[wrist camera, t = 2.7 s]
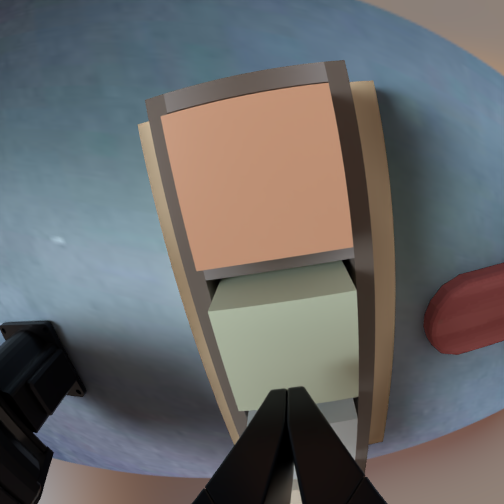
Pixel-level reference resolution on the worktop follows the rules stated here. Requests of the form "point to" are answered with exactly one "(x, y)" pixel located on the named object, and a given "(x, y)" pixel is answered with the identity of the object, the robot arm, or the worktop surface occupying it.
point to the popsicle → (467, 312)
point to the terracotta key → (260, 176)
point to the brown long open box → (354, 259)
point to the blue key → (336, 422)
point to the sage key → (288, 333)
